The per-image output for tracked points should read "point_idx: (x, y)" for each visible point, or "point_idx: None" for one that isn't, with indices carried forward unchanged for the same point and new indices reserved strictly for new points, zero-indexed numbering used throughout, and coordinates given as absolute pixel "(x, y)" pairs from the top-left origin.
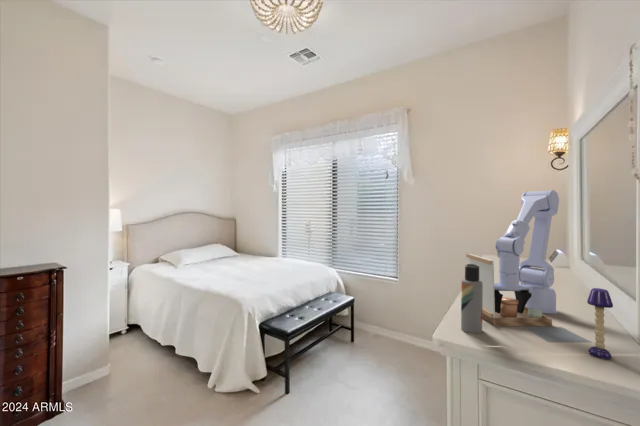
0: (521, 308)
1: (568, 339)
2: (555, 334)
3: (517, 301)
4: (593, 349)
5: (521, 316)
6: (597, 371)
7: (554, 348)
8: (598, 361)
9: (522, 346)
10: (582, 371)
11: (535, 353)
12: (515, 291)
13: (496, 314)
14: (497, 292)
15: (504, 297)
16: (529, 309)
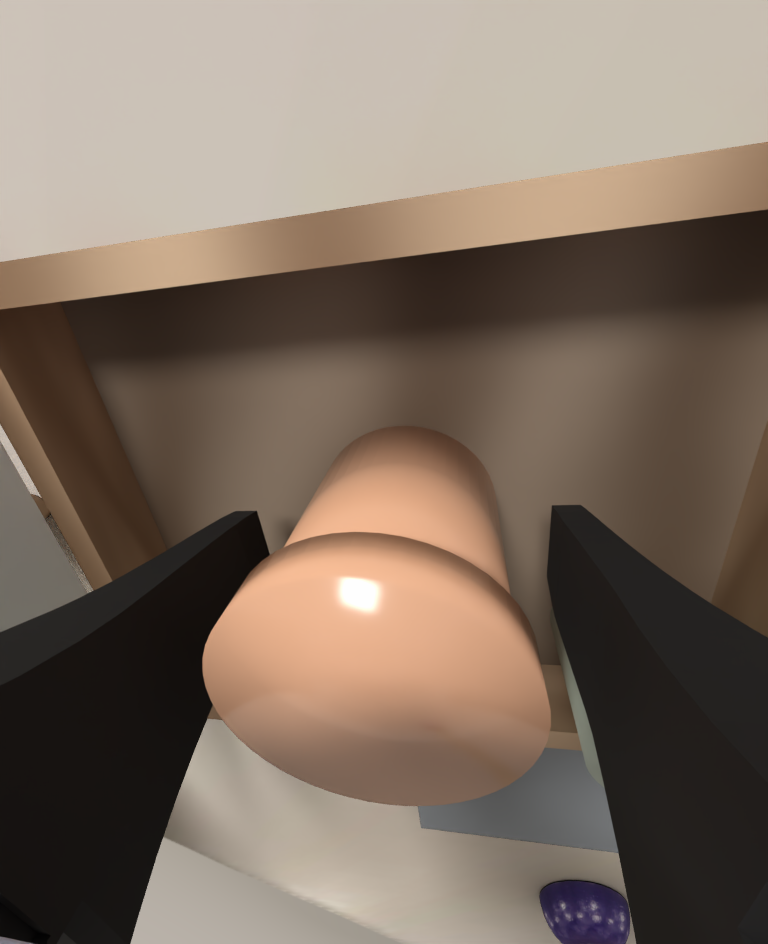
0: (565, 638)
1: (576, 830)
2: (557, 786)
3: (471, 794)
4: (556, 932)
5: (597, 483)
6: (440, 928)
7: (411, 843)
8: (516, 911)
9: (267, 815)
10: (386, 919)
11: (293, 849)
12: (760, 865)
13: (302, 435)
14: (9, 928)
15: (344, 611)
16: (590, 753)
